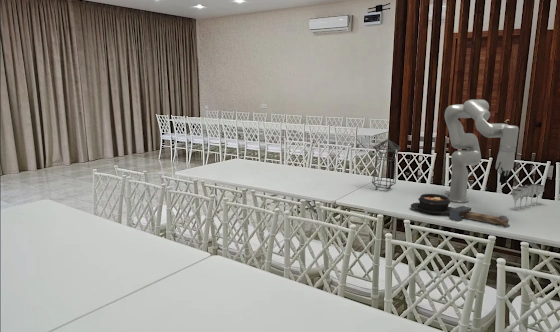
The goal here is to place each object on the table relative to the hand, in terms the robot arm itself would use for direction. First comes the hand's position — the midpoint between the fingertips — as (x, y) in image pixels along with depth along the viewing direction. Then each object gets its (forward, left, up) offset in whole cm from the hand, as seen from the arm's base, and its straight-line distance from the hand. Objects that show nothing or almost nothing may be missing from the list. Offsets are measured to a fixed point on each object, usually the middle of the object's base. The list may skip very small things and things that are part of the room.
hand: (502, 182), depth 213 cm
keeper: (-10, -19, -20) cm, 29 cm away
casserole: (-26, -21, -20) cm, 39 cm away
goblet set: (-2, +33, -20) cm, 39 cm away
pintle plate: (+8, -11, -20) cm, 24 cm away
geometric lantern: (-75, -8, -20) cm, 78 cm away
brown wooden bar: (-1, -13, -19) cm, 23 cm away
